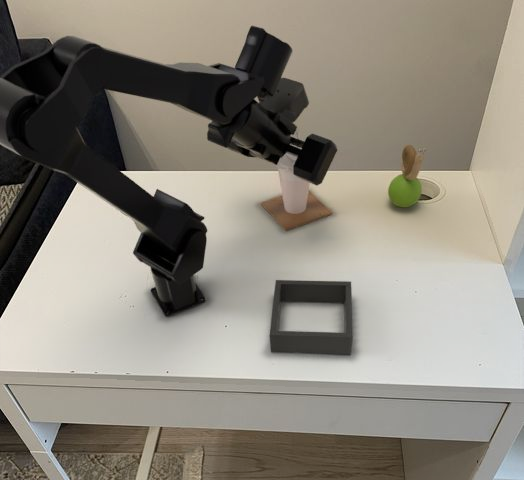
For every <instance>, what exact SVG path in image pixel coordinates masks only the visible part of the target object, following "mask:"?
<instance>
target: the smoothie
mask: <svg viewBox="0 0 524 480" xmlns="http://www.w3.org/2000/svg"><path fill="white" fill-rule="evenodd" d="M295 138H296V139H299V140H300V129H296V131H295ZM295 147H296V146H295ZM297 148H299V147H297ZM300 149H301V148H300ZM296 159H297V157H296V156H293V155H291V154H288V153H286V154H285V155H284V156H283V157H282V158H280V160H279V162H278V164H277V165H275V166H276V167H277V172H278V179H279V183H280V188H281V189H280V190H281V194H282V195H281V196H283V202H284V207H285V210H286V211H287V212H288V213H291V214H299V213H302V212H304V211H305V210H306V205H307V198H308V192H309V191H310V185H311V183H309V182H307V181H304V180H302V179H300V178H298V177H296V176H295V175H294V174H293V166H294V163H295V161H296Z"/></svg>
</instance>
